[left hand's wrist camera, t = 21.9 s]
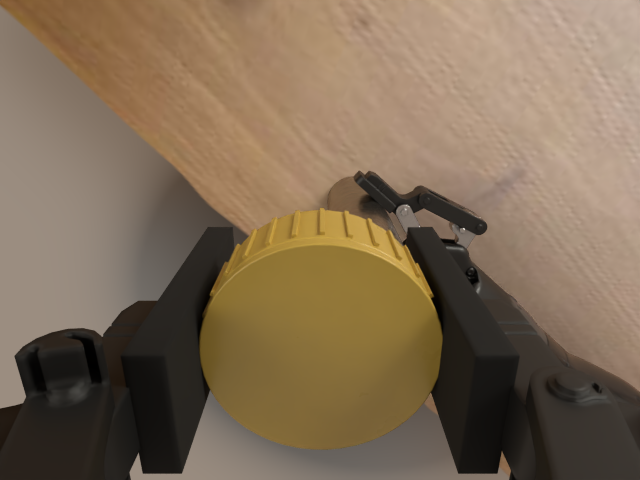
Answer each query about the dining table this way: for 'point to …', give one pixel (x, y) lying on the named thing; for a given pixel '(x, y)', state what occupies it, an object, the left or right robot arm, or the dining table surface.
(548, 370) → the left robot arm
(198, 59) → the dining table surface
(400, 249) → the lid
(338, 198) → the bottle
